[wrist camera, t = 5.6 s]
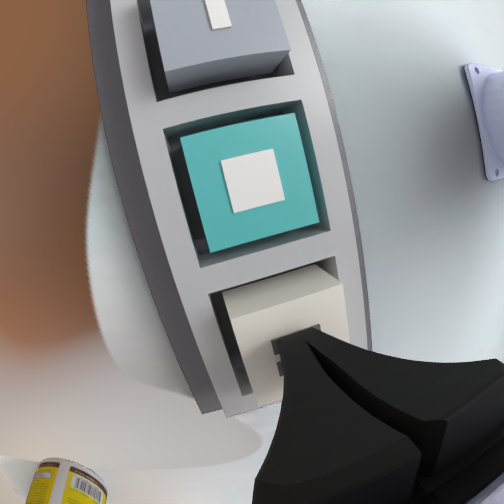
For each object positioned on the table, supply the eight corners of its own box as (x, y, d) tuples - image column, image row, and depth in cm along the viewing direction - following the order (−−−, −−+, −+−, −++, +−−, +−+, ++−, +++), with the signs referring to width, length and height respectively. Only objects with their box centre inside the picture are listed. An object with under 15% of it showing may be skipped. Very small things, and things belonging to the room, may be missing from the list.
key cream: (315, 264, 13) (343, 284, 11) (328, 343, 14) (354, 373, 12) (221, 292, 13) (230, 320, 10) (246, 370, 14) (258, 408, 11)
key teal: (275, 124, 13) (295, 112, 10) (296, 214, 14) (320, 222, 11) (182, 145, 12) (179, 137, 10) (206, 238, 13) (210, 253, 11)
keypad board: (255, -91, 10) (266, -120, 7) (367, 351, 17) (394, 377, 14) (86, -62, 9) (75, -90, 6) (201, 407, 16) (205, 444, 13)
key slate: (247, -5, 10) (261, -40, 7) (271, 72, 11) (292, 48, 8) (152, 11, 9) (145, -23, 7) (169, 93, 11) (164, 70, 8)
